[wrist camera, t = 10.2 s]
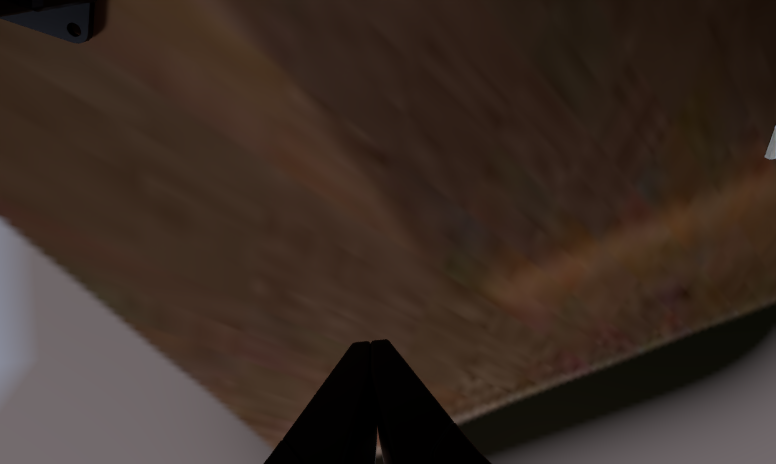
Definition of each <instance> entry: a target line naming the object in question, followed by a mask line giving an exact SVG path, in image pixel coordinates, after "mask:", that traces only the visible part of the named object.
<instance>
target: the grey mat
mask: <svg viewBox="0 0 776 464" xmlns="http://www.w3.org/2000/svg"><path fill="white" fill-rule="evenodd" d="M765 157H766V158H768V159H776V126H775V129H774V132H773V135H772V138H771V141H770V143H769V146H768V149H767V152H766V155H765Z"/></svg>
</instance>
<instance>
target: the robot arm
mask: <svg viewBox="0 0 776 464" xmlns="http://www.w3.org/2000/svg"><path fill="white" fill-rule="evenodd" d="M95 1H96V0H0V18H1V19H4V20H7V21H10V22H13V23H16V24H19V25H22V26H25V27H28V28H31V29H34V30H37V31H40V32H43V33H46V34H49V35H52V36H55V37H58V38H61V39H64V40H67V41H70V42H73V43H78V44H79V43H83V42H86V41H89V40H90V39H91V38H92V34H93V23H94V6H95ZM73 23H75V24H77V25H78V26H79V27H80V29H81V34H80V35H78V34H76V33H75V32H74V31H73V28H72V25H73ZM377 427H378V434H379V440H380V445H381V450H382V455H383V460H384V464H491V463H490V462H489V461H488V460H487V459H486V458H485V457H484V456H483V455H482V454H481V453H480V452H479V451H478V449H477V448H476V447H475V446H474V445H473V444H472V442H471V441H470V440H469V439H468V438H467V437H466V436H465V434H464V433H463V432H462V431H461V429H460V428H459V427H458V426H457V424H456V423H454V421H453V420H452V419H451V418H450V416H449V415H448V414H447V413H446V411H445V410H444V409H443V408H442V406H441V405H440V404H439V403H438V401H437V400H436V399H435V398H434V396H433V395H432V394H431V393H430V391H429V390H428V389H427V388H426V386H425V385H424V384H423V383H422V381H421V380H420V379H419V378H418V376H417V375H416V374H415V373H414V371H413V370H412V369H411V368H410V366H409V365H408V364H407V363H406V361H405V360H404V359H403V358H402V356H401V355H400V354H399V353H398V351H397V350H396V349H395V348H394V346H393V345H392V344H391V343H390V341H389V340H387V339H384V340H374V341H372V342H371V344H370V342H368V341H364V342H355V343H353V344H352V345H351V346H350V347H349V349H348V350H347V351H346V353H345V354H344V356H343V357H342V358H341V360H340V361H339V362H338V364H337V365H336V367H335V368H334V369H333V371H332V372H331V373H330V375H329V376H328V378H327V379H326V380H325V382H324V383H323V384H322V386H321V387H320V388H319V390H318V391H317V393H316V394H315V395H314V397H313V398H312V399H311V401H310V402H309V404H308V405H307V406H306V408H305V409H304V410H303V412H302V413H301V415H300V416H299V417H298V419H297V420H296V421H295V423H294V424H293V426H292V427H291V428H290V430H289V431H288V432H287V434H286V435H285V437H284V438H283V440H282V441H280V443H279V444H278V445H277V447H276V448H275V449H274V451H273V452H272V453H271V455H270V456H269V457H268V459H267V460H266V461H265V463H264V464H375V458H376V445H377Z"/></svg>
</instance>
